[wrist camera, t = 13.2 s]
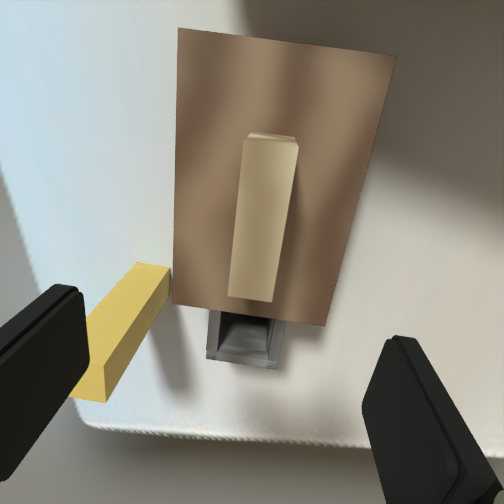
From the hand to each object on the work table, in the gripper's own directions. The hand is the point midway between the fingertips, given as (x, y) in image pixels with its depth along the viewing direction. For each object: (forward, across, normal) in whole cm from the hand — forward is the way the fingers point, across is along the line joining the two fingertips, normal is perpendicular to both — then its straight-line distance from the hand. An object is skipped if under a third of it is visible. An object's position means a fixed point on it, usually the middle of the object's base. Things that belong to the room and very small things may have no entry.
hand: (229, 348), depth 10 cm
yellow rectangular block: (+26, +12, +14) cm, 32 cm away
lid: (+19, 0, +3) cm, 19 cm away
